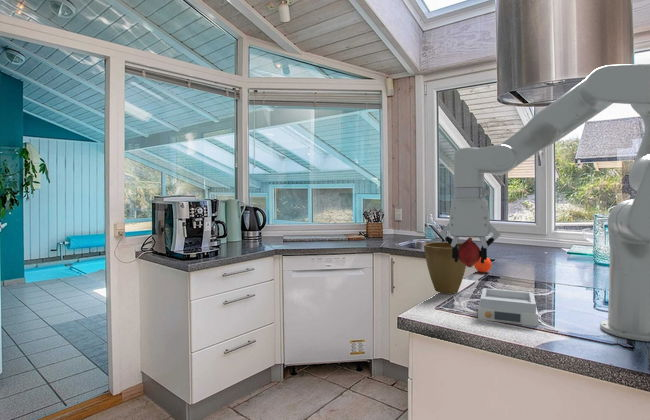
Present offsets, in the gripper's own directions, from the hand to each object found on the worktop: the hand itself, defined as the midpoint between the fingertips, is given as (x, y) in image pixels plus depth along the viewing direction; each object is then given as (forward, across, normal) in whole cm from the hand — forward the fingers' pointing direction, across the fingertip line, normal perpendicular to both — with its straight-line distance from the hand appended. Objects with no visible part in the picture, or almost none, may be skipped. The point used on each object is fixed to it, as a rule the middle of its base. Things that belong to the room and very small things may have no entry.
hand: (469, 261), depth 106 cm
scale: (+15, -9, -6) cm, 19 cm away
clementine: (+15, -1, -68) cm, 69 cm away
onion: (+2, 0, 0) cm, 2 cm away
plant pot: (+15, +10, -27) cm, 32 cm away
